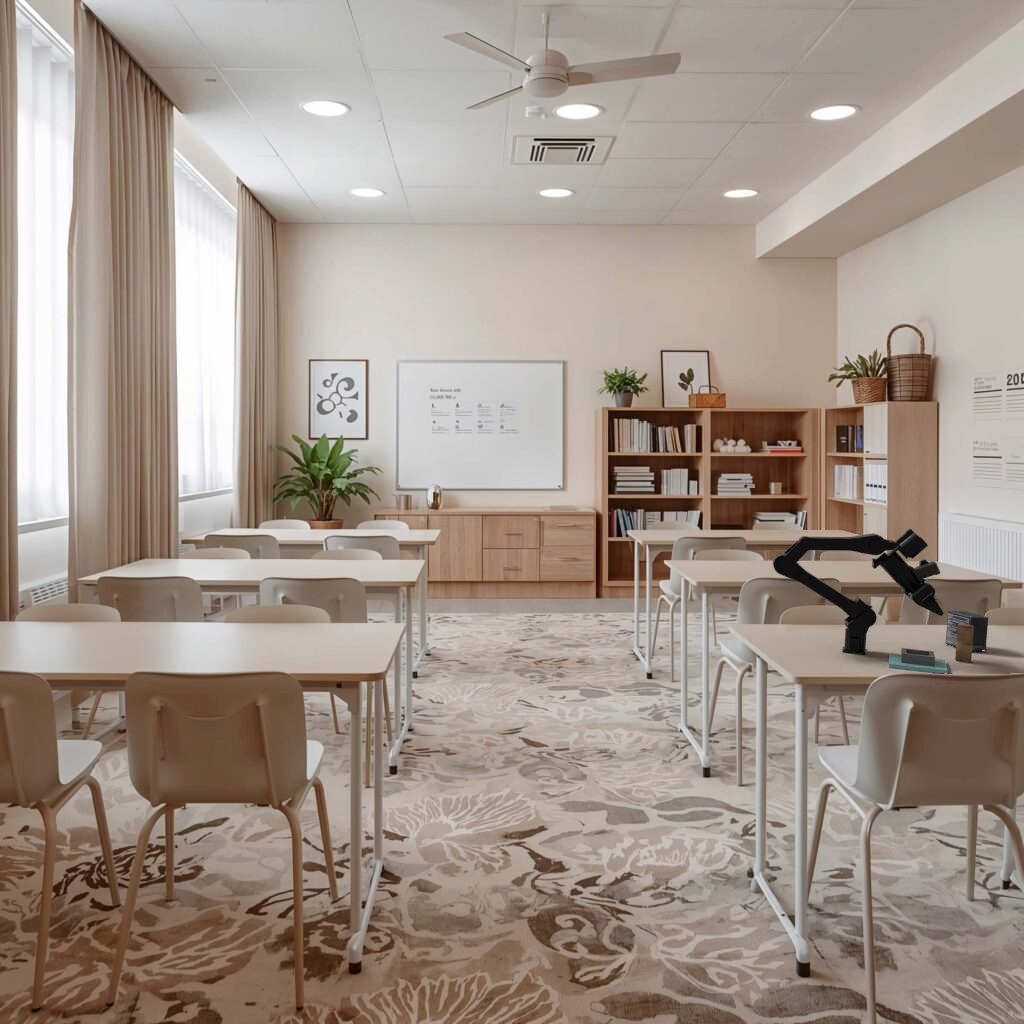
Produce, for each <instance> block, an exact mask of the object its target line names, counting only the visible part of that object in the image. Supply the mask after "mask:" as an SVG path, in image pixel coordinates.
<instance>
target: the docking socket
mask: <svg viewBox="0 0 1024 1024" xmlns="http://www.w3.org/2000/svg"><path fill="white" fill-rule="evenodd" d="M900 650H901V652H900V654H897V653H889V654H888V668H889V667H894V668H893V669H897V668H901V669H900V670H906V669H909V670H908V671H916V672H924V673H931V672H935V673H934V674H940V673H949V671H948V667H947V663H946V660H945V659H943V658H936V656H935V652H934V651H931V650H923V649H916V648H915V649H914V648H907V647H906V648H905V647H901V649H900Z"/></svg>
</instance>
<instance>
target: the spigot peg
mask: <svg viewBox="0 0 1024 1024" xmlns="http://www.w3.org/2000/svg"><path fill="white" fill-rule="evenodd" d="M973 631H974V626H972V625H967V624H958V627H957V641H956V648H955V658H954V660H956V661H955V662H958V661H959V662H958V663H963V662H971V663H972V658H973V657H972V656H973V655H972V654H973V652H972V645H973Z"/></svg>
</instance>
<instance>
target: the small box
mask: <svg viewBox="0 0 1024 1024" xmlns="http://www.w3.org/2000/svg"><path fill="white" fill-rule="evenodd" d="M958 624H967V625H972V626H974V631H973V645H972V651H982V650H986V651H987V639H988V630H989V629H988V627H989V617H988V616H984V615H981V614H977V613H973V612H970V611H967V610H965V611H964V610H963V611H962V610H947V622H946V633H945V642H944V644H945V643H946V644H948V645H951V646H953V647H952V648H954V647H956V641H957V627H958ZM948 645H947V646H948ZM951 646H950V647H951Z"/></svg>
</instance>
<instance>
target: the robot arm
mask: <svg viewBox="0 0 1024 1024" xmlns="http://www.w3.org/2000/svg"><path fill="white" fill-rule="evenodd" d="M928 547H929V545H928V544H927V542H926V541H925V540H924V539H923V538H922V537H921V536H919V535H918V534H917V533H916V532H915V531H914V530H913V529H911V528H908V529H907V530H906V531H905V532H904V533H902V535H901V536H899V537H898V538H897V539H896V540H893V539H886V538H884V537H883V536H881V535H880V534H878V533H875V532H874V533H873V532H872V533H867V534H859V535H855V536H847V537H846V536H845V537H844V536H843V537H842V536H806V535H803V536H801V537H799V538H798V539H797V541H796V542H795V543H793V544H792V545H791V546H790V547H789V548H787V549H786V550H785V551H784V552H780V553H778V554H776V555H775V556H774V557H773V559H772V566H773V569H774V572H776V573H777V574H778V575H781V576H783V577H785V578H788V579H791V580H793V581H796V582H798V583H801V584H802V585H803V586H805V587H806V588H809V590H811V591H813V592H814V593H816V594H817V595H819V596H820V597H822V598H824V599H825V600H826V601H829V602H831V603H832V604H833V605H835V606H836V607H838V608H839V609H841V610H842V611H843V612H844V613H845V614H846V615H848V616H847V617H846V618H845V619H844V620H843V622H844V625H845V627H846V628H845V629H844V630H845V632H844V644H843V645H844V646H842V650H841V651H842V653H849V654H857V655H865V654H866V655H867V654H868V649H867V635H868V631H869V629H870V627H872V626H874V625H875V624H876V622H877V613H876V611H875V610H874V609H873V606H872V604H871V603H870V602H867V601H864V600H863V599H862V598H861V597H859V596H858V595H856V597H855V599H854V598H851V597H848V596H847V595H845V594H843V592H841V591H838V589H836V588H834V587H833V586H831V585H830V584H828V583H827V582H825V581H823V580H821V579H820V578H819V577H817V576H816V575H814V574H812V573H811V572H809V571H808V570H806V569H805V568H804V567H803V566H802V565H801V564H800V563H799V561H800V560H801V559H802V558H803V556H805V554H806V553H807V552H809V551H842V552H843V551H846V552H856V553H861V554H865V555H871V556H878V557H877V558H873V557H872V558H871V561H872V562H871V567H872V568H873V569H877V568H878V567H881V568H882V569H883V570H884V571H885V573H887V574H888V576H889V577H891V579H892V580H893V581H894V582H895V583H896V584H897V585H898V586H899V587H900V590H901V592H903V594H904V595H905V596H906V597H908V598H909V599H911V600H912V601H913V602H914V604H916V605H917V606H920V607H921V608H924V609H925V610H928V611H929V612H932V613H933V614H935V615H938V616H940V617H942V616H944V614H945V613H944V611H943V609H942V608H941V607H940V605H939V603H938V602H937V599H936V598H935V594H936V589H935V587H934V586H932V585H931V583H929V582H926V579H927V578H929V577H933V576H937V575H940V574H941V570H940V568H939V566H938V564H937V562H936V561H933V560H931V561H928V560H926V559H925V558H924V559H922V560H919V565H916V566H917V567H916V566H915V567H913V566H911V565H910V564H908V563H907V562H906V561H905V559H906V560H908V559H912V560H913V559H915V558H916V557H917V556H918V555H919V554H921V553H922V552H923V551H924V550H925V549H927V548H928ZM886 551H888V553H886ZM897 551H898V552H899V553H900V555H902V556H903V558H904V559H903V558H902V557H901V556H900V555H899V553H898V552H897Z"/></svg>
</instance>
